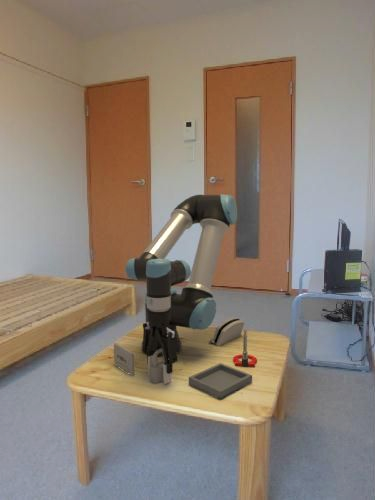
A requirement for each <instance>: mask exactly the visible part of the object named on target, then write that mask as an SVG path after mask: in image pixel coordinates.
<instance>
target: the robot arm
mask: <svg viewBox="0 0 375 500" xmlns="http://www.w3.org/2000/svg"><path fill="white" fill-rule="evenodd" d="M237 207H238V206H237V202H236V200H235V198H234V197H233V196H232V195H230V194H223V193H220V194H196V195H195V194H194V195H191V196H189V197H188V198H186V199H185V200H183V201H182V202H180V203H179V204H177V206H176V207H175V208H174V209H173V211H171V213H170V218H169V219H168V221H166V223H165V224H164V226H163V227H162V228H161V229H160V231H159V232H158V234H157V235H156V236H155V237H154V238H153V239H152V241H151V242H150V243H149V245H148V246H147V247H146V248H145V250H144V251H143V252H142V254H140V256H139V257H135V258H134V257H133V258H130V259H129V260H128V261H127V262H126V265H125V273H126V276H127V277H128V278H129V279H131V280H135V281H142V282H146V283H145V284H146V294H145V301H144V305H145V307H144V308H145V309H144V310H145V311H144V312H145V322H144V323H142V328H143V337H142V341H141V351H142V353H144V354H145V355H146V359H147V369H148V371H147V373H148V375H147V376H148V377H149V366H151V365H153V356H154V353H155V352H156V351H157V350H158V349H162V351H163V353H162V352H160V353H159V354H158V355H157V357H163V355H164V359H165V363H163V372H164V381H163V384H164V385H167V384H168V383H171V382H172V379H173V378H172V377H173V376H172V375H173V374H172V373H173V364H176V363H178V353H179V352H180V351H181V350H182V341H181V338H180V336H179V333H178V330H177V327H181V328H187V329H192V330H200V331H202V330H206V329H208V328H209V327H210V326H211V325H212V323H213V322H214V319H215V317H216V313H217V302H216V300H215V299H214V294H213V292H212V291H211V289H212V286H213V285H212V284H213V280H214V276H215V272H216V269H217V264H218V259H219V256H220V251H221V245H222V241H223V237H224V234H226V233H227V232H228V231H229V230H230V225H235V224H236V223H237V221H238V220H237V219H238V208H237ZM196 224H199V225H200V227H201V232H200V236H199V240H198V243H197V247H196V252H195V255H194V259H193V264H192V266H190V264H189V263H188V262H187V261H186V260H183V259H179V260H178V259H175V260H172V261H171V260H169V259H167V258H166V257H168V255H169V254H170V252H171V250H172V249H173V247H174V246H175V245H176V244H177V242H178V240H180V238H181V237H182V236H183V234H184V232H185V231H186V230H188V229H190V228H191V227H192V226H193V225H196ZM187 280H188V282H187V285H185V286H183V287H182V289H181V293H177V290H176V288H173V286H175V285H178V284H182V283H184V282H186V281H187Z"/></svg>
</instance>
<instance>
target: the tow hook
mask: <svg viewBox="0 0 375 500" xmlns="http://www.w3.org/2000/svg"><path fill="white" fill-rule="evenodd" d="M243 332H244V334H243V346H242V347H243V348H242V349H243V351H242V354H238V355H233V357H232V361H233V362H234V366H236V367H237V366H238V367H247V368H248V367H250V368H251V367H255V366H256V365H255V364H257V362H258V358H257V357H256V356H253V355H251V354H248V335H247V332H248V331H247V329H243ZM240 359H241V360H240ZM249 359H250V361H249Z"/></svg>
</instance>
